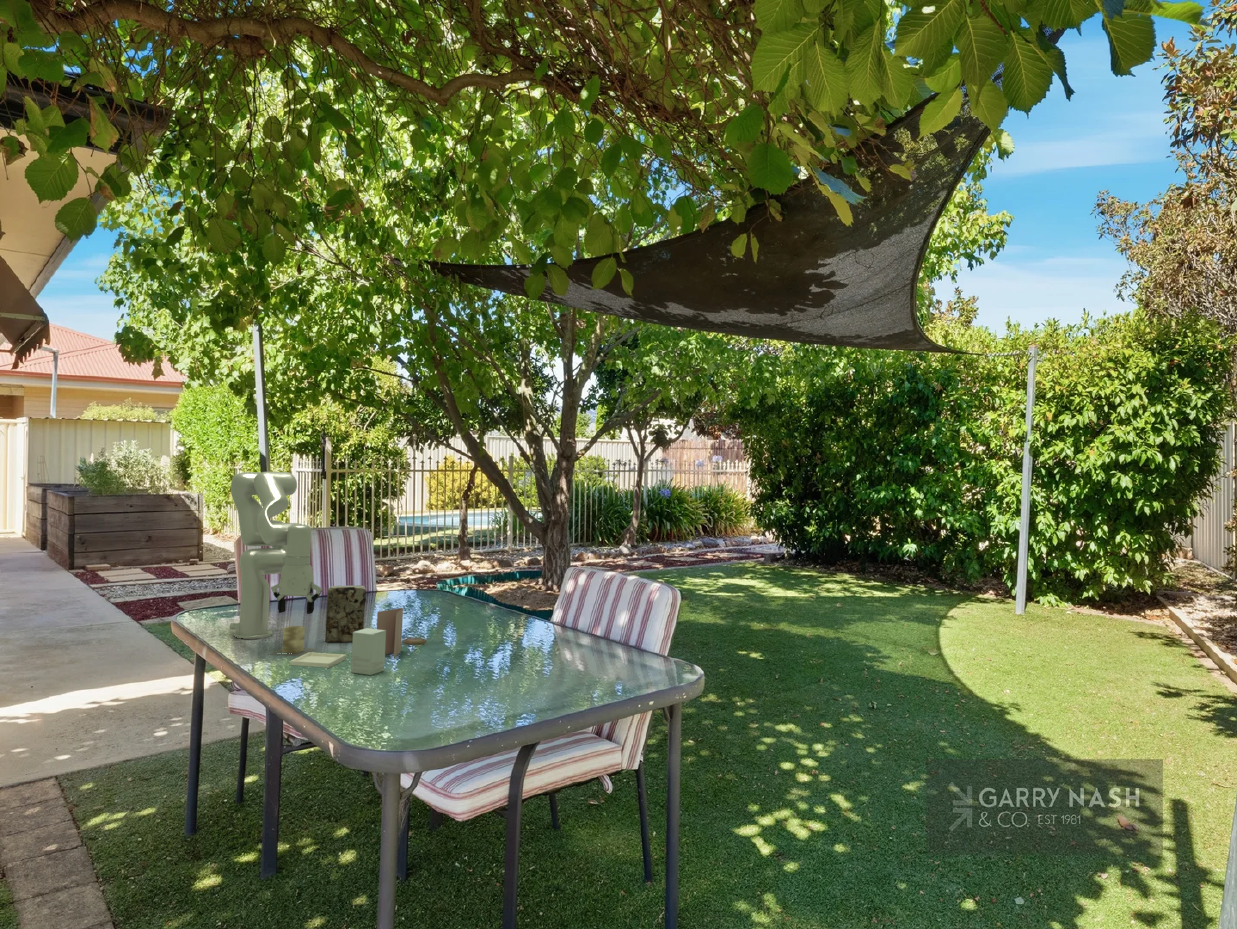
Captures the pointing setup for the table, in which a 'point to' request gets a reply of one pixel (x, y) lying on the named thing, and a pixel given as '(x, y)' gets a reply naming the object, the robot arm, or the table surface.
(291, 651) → the beech block
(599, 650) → the table surface
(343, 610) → the stone block
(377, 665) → the supplement box
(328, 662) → the cream tray
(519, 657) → the table surface
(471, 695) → the table surface
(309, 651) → the tile
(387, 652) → the greeting card
